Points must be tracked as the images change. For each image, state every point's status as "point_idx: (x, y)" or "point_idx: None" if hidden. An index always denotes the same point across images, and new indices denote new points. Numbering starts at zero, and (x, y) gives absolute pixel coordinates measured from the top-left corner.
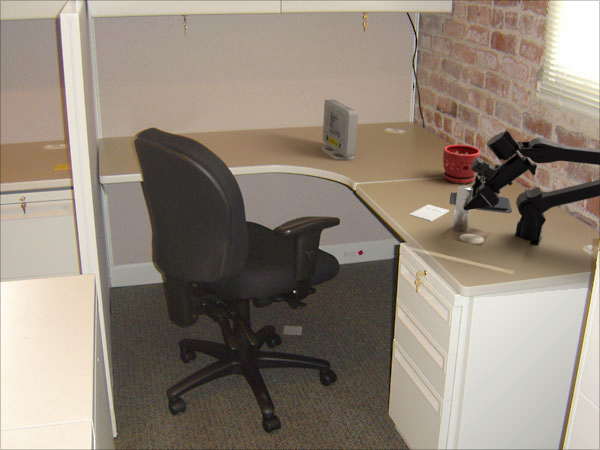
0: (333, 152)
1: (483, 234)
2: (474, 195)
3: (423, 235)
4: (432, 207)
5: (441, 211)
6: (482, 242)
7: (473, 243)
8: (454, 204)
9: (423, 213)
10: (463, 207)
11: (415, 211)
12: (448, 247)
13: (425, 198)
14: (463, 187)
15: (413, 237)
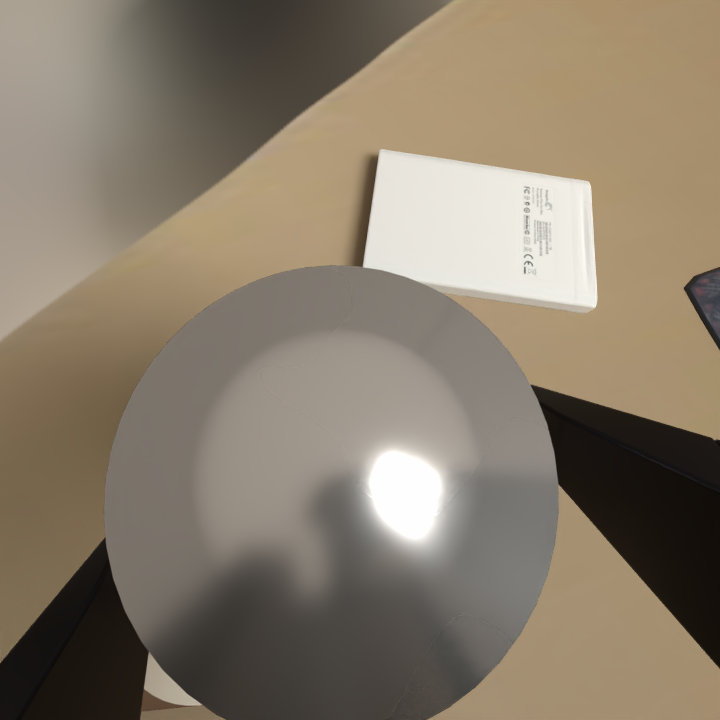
0: None
1: None
2: (622, 539)
3: (162, 302)
4: (564, 213)
5: (542, 271)
6: (175, 701)
7: None
8: (716, 295)
9: (441, 203)
10: (103, 539)
11: (440, 162)
12: (40, 489)
13: (682, 149)
14: (340, 400)
15: (104, 268)
